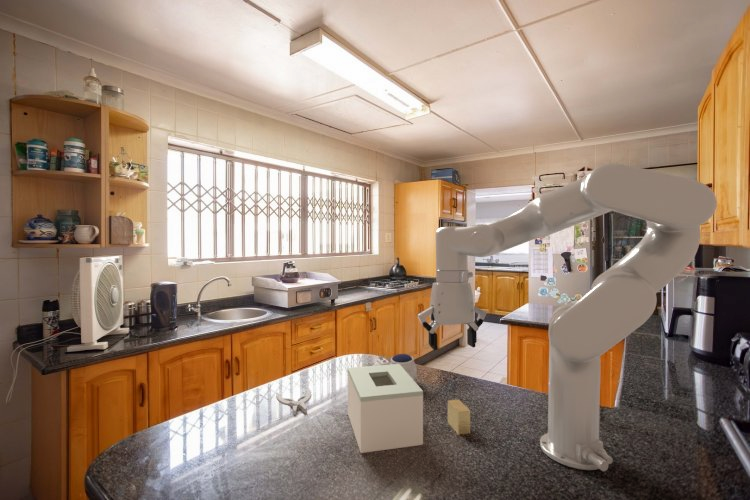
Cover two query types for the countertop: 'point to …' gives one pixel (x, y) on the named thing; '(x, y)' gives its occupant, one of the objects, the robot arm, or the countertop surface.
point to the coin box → (384, 407)
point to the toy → (401, 359)
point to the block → (458, 417)
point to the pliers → (296, 402)
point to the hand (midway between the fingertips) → (452, 347)
